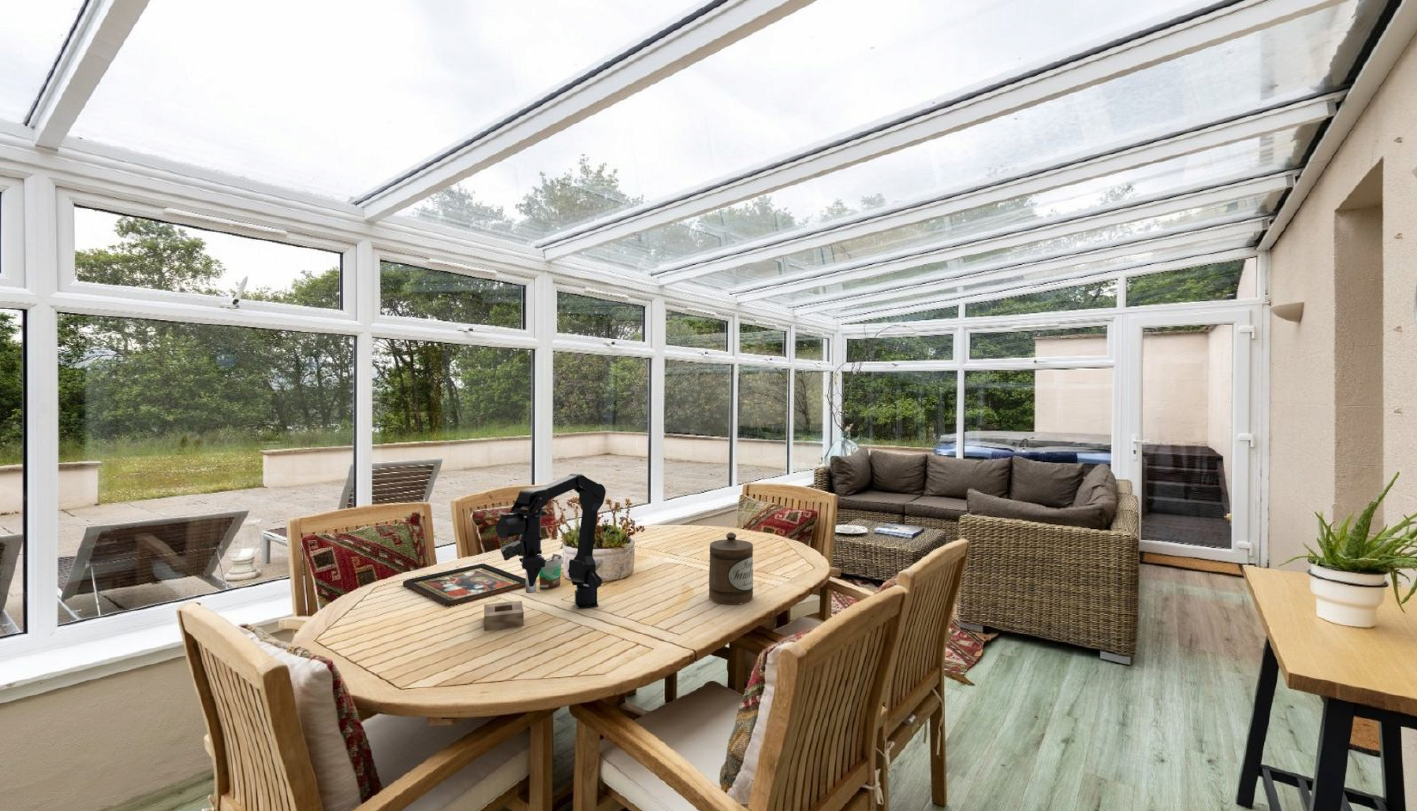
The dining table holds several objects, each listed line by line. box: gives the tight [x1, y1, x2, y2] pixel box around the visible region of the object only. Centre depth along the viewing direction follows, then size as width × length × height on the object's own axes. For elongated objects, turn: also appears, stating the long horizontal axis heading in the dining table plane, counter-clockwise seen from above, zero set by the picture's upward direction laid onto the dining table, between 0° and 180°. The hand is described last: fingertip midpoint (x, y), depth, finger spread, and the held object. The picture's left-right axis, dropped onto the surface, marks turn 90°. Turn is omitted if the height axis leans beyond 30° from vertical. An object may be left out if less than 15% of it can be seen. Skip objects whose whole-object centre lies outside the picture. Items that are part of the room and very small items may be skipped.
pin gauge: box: [525, 570, 537, 594], centre depth 185 cm, size 3×3×8 cm
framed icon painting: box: [402, 563, 526, 608], centre depth 224 cm, size 38×35×3 cm
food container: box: [538, 553, 564, 591], centre depth 224 cm, size 12×6×10 cm, turn 168°
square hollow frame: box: [483, 600, 525, 631], centre depth 188 cm, size 11×11×4 cm
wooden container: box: [708, 532, 754, 605], centre depth 211 cm, size 15×15×22 cm
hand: (530, 584), depth 185 cm, fingers closed on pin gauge, 3 cm apart
